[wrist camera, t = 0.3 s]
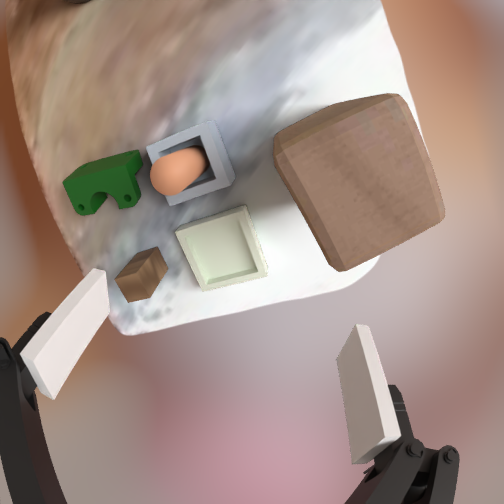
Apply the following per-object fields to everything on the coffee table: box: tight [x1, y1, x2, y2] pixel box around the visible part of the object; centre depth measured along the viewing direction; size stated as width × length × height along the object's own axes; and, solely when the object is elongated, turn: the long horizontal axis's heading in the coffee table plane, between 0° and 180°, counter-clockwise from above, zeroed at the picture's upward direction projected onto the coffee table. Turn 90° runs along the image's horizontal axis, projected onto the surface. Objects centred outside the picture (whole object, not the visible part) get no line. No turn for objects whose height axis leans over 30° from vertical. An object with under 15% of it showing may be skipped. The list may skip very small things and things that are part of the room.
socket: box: [146, 121, 236, 206], centre depth 34 cm, size 8×8×5 cm
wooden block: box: [273, 93, 445, 272], centre depth 26 cm, size 10×10×20 cm
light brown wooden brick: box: [115, 247, 168, 303], centre depth 40 cm, size 4×4×8 cm
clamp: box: [63, 150, 143, 216], centre depth 36 cm, size 12×6×9 cm, turn 91°
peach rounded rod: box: [150, 145, 210, 196], centre depth 31 cm, size 4×4×10 cm
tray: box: [175, 205, 268, 292], centre depth 41 cm, size 10×10×2 cm
